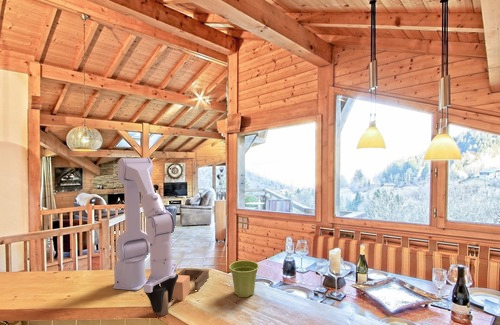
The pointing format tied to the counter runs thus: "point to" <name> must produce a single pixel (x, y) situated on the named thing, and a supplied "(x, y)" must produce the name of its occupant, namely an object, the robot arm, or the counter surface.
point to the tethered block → (176, 293)
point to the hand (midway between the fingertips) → (162, 306)
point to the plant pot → (244, 277)
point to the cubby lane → (196, 276)
